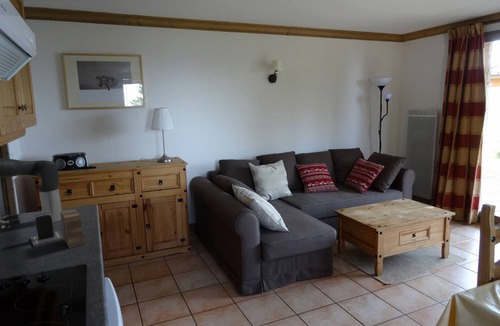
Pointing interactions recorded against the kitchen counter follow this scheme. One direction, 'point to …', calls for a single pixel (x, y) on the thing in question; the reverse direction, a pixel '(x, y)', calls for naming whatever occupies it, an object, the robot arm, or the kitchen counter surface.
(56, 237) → the charging pad
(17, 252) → the kitchen counter surface
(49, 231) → the battery charger
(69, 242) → the brown rectangular block
